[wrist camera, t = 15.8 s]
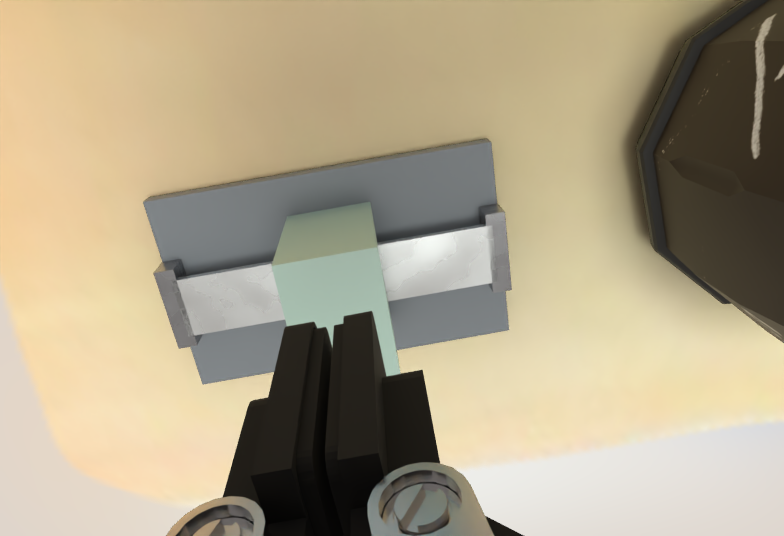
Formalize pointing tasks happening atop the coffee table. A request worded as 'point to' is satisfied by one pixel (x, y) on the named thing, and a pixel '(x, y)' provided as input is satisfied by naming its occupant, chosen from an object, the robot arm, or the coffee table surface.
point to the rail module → (334, 273)
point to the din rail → (399, 265)
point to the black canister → (723, 162)
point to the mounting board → (320, 192)
